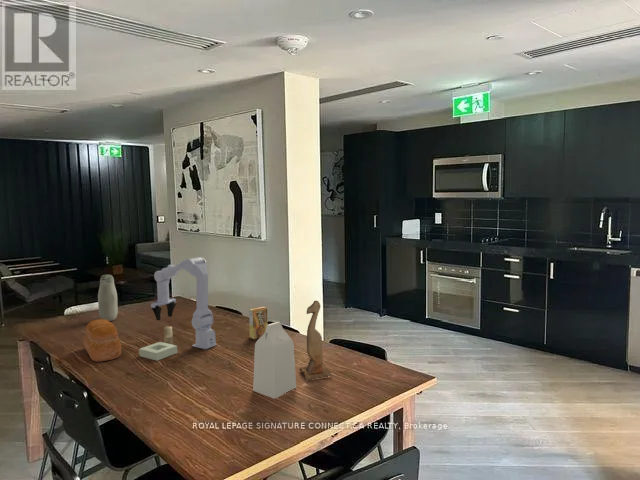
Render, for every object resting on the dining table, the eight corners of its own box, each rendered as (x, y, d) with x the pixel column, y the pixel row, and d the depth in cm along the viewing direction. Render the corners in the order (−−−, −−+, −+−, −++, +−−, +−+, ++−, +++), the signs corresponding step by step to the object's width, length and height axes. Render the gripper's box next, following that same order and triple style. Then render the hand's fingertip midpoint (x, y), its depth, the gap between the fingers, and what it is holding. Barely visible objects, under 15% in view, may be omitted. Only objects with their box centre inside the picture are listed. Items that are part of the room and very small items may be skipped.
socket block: (177, 352, 221) (177, 345, 221) (156, 360, 211) (156, 353, 211) (160, 348, 228) (160, 341, 227) (139, 356, 217) (139, 348, 217)
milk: (275, 380, 188) (274, 317, 185) (296, 388, 180) (295, 322, 178) (253, 390, 178) (251, 324, 176) (274, 398, 171) (273, 329, 169)
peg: (174, 344, 234) (173, 326, 233) (168, 346, 231) (167, 329, 230) (169, 343, 236) (168, 325, 235) (162, 345, 233) (161, 327, 232)
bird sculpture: (297, 372, 197) (294, 299, 193) (323, 368, 201) (321, 295, 197) (306, 383, 186) (303, 305, 182) (333, 378, 190) (331, 301, 186)
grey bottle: (95, 322, 275) (93, 275, 273) (108, 317, 285) (105, 272, 282) (109, 323, 273) (107, 276, 270) (121, 319, 282) (119, 273, 279)
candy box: (263, 334, 250) (263, 306, 248) (268, 336, 247) (267, 307, 245) (249, 337, 244) (248, 308, 243) (253, 339, 241) (252, 310, 239)
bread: (91, 364, 208) (90, 331, 206) (82, 348, 229) (80, 318, 227) (123, 358, 215) (122, 326, 214) (112, 343, 237) (110, 314, 235)
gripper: (168, 289, 252) (169, 314, 253) (146, 294, 240) (147, 320, 241) (178, 291, 248) (179, 315, 250) (155, 296, 236) (156, 322, 237)
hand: (164, 318), depth 245 cm, fingers open, 7 cm apart
